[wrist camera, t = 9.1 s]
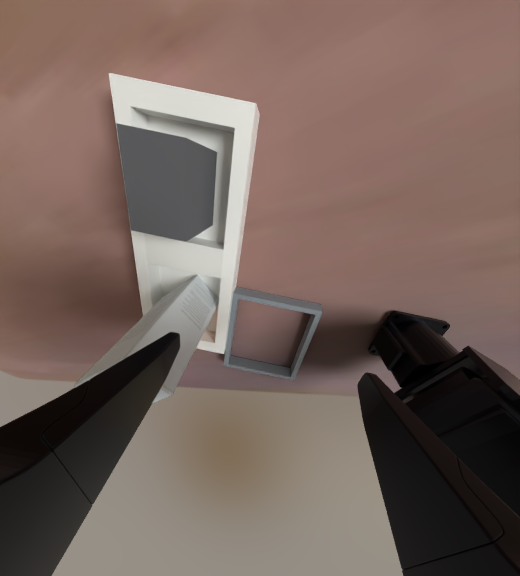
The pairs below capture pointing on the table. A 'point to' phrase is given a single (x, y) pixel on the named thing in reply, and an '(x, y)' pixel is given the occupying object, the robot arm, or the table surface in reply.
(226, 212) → the divided desk organizer
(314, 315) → the gray rectangular frame
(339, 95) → the table surface
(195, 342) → the skincare box
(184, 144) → the dark gray rectangular block
